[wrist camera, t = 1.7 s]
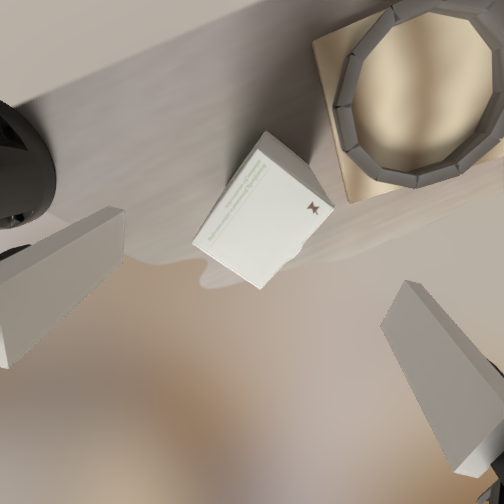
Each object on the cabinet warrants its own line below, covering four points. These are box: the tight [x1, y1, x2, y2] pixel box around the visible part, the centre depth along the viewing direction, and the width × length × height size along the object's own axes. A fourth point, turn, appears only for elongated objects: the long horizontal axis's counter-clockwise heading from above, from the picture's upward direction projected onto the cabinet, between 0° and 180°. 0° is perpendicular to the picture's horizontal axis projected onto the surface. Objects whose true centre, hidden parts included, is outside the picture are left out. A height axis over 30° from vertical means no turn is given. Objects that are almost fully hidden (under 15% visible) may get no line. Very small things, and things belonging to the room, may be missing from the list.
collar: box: [312, 0, 504, 204], centre depth 27 cm, size 16×16×4 cm
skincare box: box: [192, 131, 335, 289], centre depth 26 cm, size 8×7×16 cm
